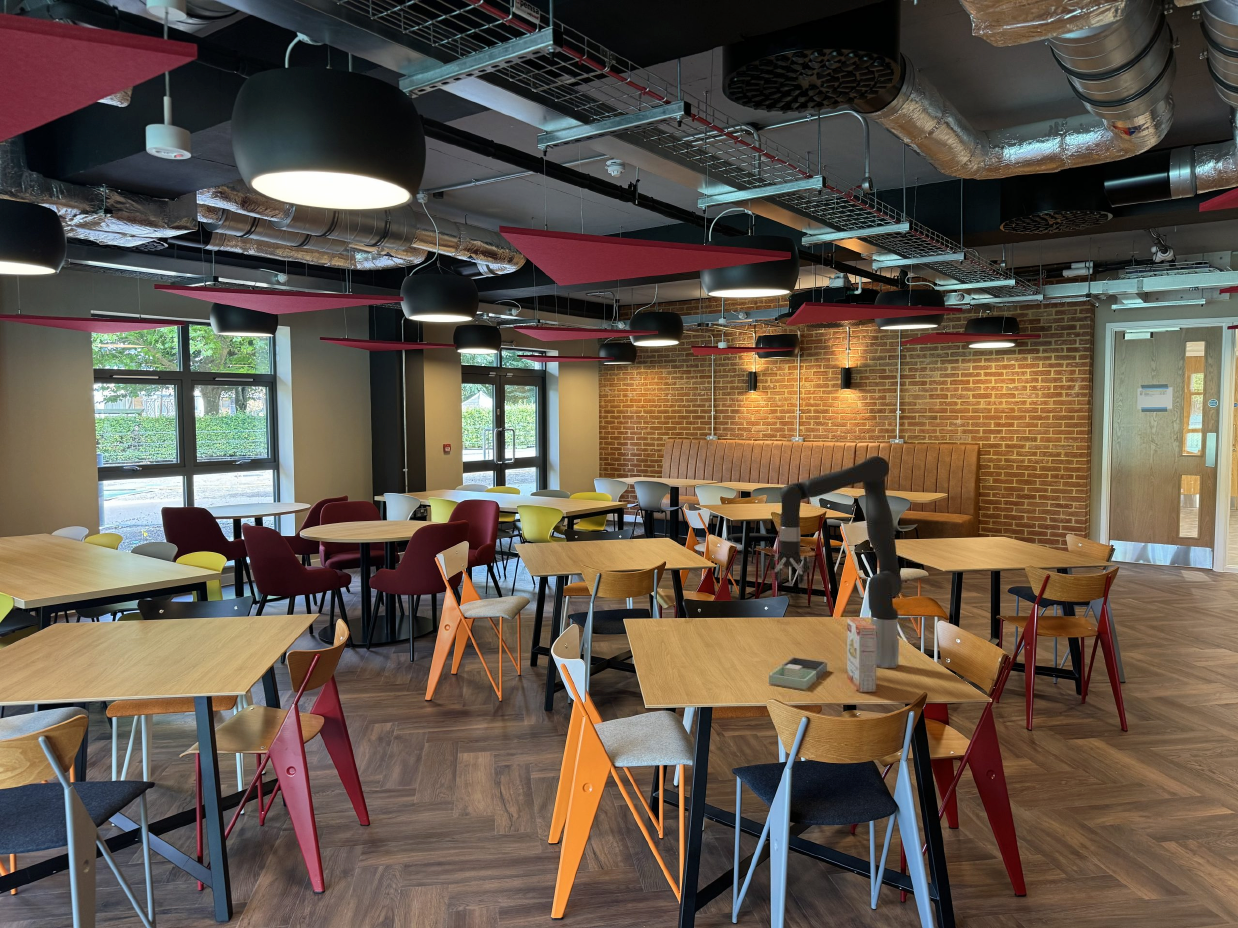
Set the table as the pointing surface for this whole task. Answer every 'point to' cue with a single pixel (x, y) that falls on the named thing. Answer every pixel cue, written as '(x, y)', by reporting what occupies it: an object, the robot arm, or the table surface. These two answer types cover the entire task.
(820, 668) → the bin
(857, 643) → the cracker box
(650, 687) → the table surface
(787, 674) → the light grey block
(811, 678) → the bin
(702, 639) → the table surface
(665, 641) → the table surface
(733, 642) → the table surface
